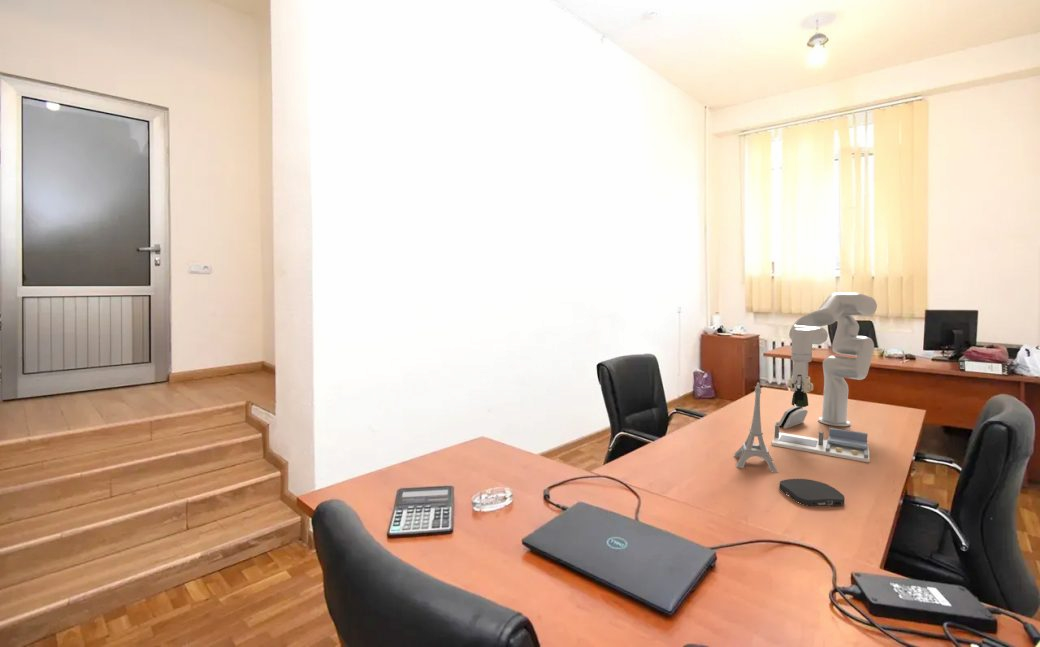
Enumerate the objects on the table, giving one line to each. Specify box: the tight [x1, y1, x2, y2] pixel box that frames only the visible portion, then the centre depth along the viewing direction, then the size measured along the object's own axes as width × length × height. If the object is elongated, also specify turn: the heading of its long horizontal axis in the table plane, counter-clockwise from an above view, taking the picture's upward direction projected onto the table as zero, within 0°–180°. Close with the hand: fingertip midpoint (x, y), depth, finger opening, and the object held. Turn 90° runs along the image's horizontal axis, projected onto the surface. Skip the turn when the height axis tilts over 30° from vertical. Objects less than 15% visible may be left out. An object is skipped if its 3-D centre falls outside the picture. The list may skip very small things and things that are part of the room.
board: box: [771, 424, 870, 463], centre depth 190 cm, size 16×32×6 cm, turn 54°
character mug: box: [787, 375, 814, 408], centre depth 204 cm, size 11×7×13 cm, turn 26°
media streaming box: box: [778, 478, 845, 507], centre depth 147 cm, size 15×15×3 cm
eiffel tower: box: [733, 382, 779, 473], centre depth 172 cm, size 13×13×30 cm
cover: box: [827, 427, 869, 449], centre depth 187 cm, size 8×12×4 cm, turn 54°
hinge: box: [775, 405, 809, 429], centre depth 220 cm, size 17×5×10 cm, turn 125°
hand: (800, 397), depth 204 cm, fingers closed on character mug, 7 cm apart
